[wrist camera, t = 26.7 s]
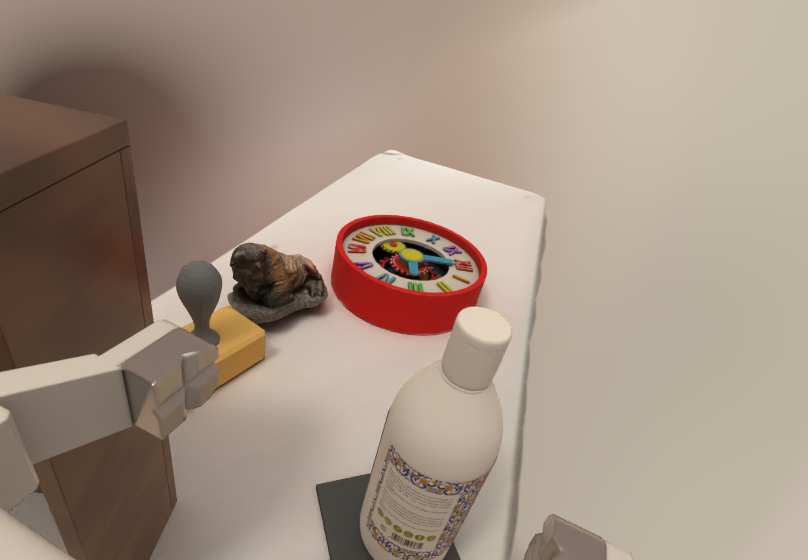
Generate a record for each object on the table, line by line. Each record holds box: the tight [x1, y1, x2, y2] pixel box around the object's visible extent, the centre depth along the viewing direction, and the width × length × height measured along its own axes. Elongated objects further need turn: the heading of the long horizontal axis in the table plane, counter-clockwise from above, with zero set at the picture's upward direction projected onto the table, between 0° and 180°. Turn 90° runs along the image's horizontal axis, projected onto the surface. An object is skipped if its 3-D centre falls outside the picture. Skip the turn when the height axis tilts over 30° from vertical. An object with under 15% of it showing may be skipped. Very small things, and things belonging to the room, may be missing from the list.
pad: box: [316, 473, 460, 560], centre depth 33 cm, size 9×9×1 cm
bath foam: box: [360, 307, 512, 560], centre depth 28 cm, size 7×7×20 cm
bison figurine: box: [227, 243, 328, 324], centre depth 48 cm, size 12×7×10 cm, turn 143°
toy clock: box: [331, 215, 487, 335], centre depth 59 cm, size 20×6×20 cm
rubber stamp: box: [176, 261, 265, 388], centre depth 39 cm, size 10×6×12 cm, turn 147°
